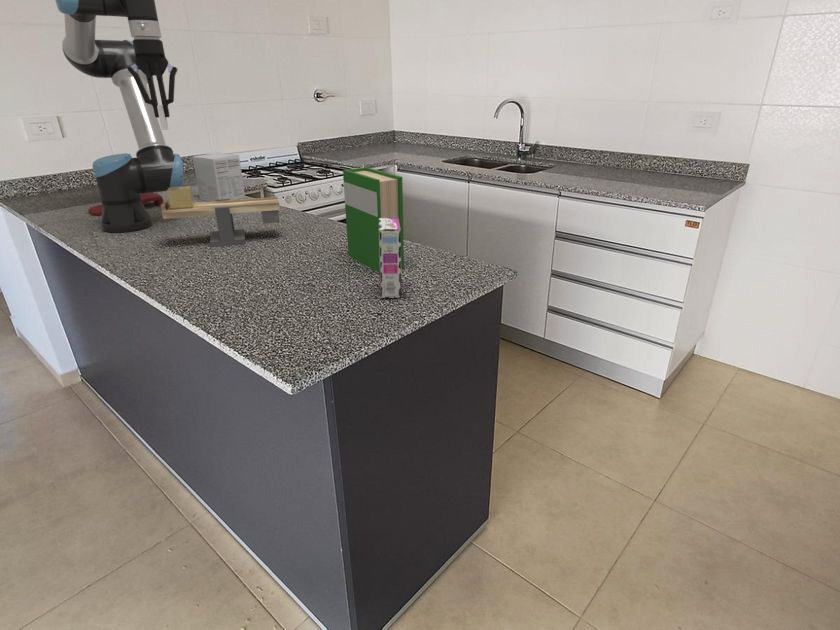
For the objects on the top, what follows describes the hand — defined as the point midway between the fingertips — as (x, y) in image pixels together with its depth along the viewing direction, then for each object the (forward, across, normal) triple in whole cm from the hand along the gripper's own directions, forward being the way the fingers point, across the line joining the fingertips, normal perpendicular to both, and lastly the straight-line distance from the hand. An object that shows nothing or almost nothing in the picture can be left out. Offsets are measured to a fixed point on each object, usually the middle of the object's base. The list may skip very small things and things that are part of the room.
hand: (165, 129), depth 153 cm
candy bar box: (+33, +51, -65) cm, 89 cm away
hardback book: (+33, +52, -44) cm, 76 cm away
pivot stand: (+32, +13, -9) cm, 36 cm away
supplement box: (+33, +10, +54) cm, 64 cm away
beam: (+27, +13, -9) cm, 31 cm away
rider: (+22, +2, -9) cm, 23 cm away
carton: (+33, -25, +48) cm, 63 cm away
